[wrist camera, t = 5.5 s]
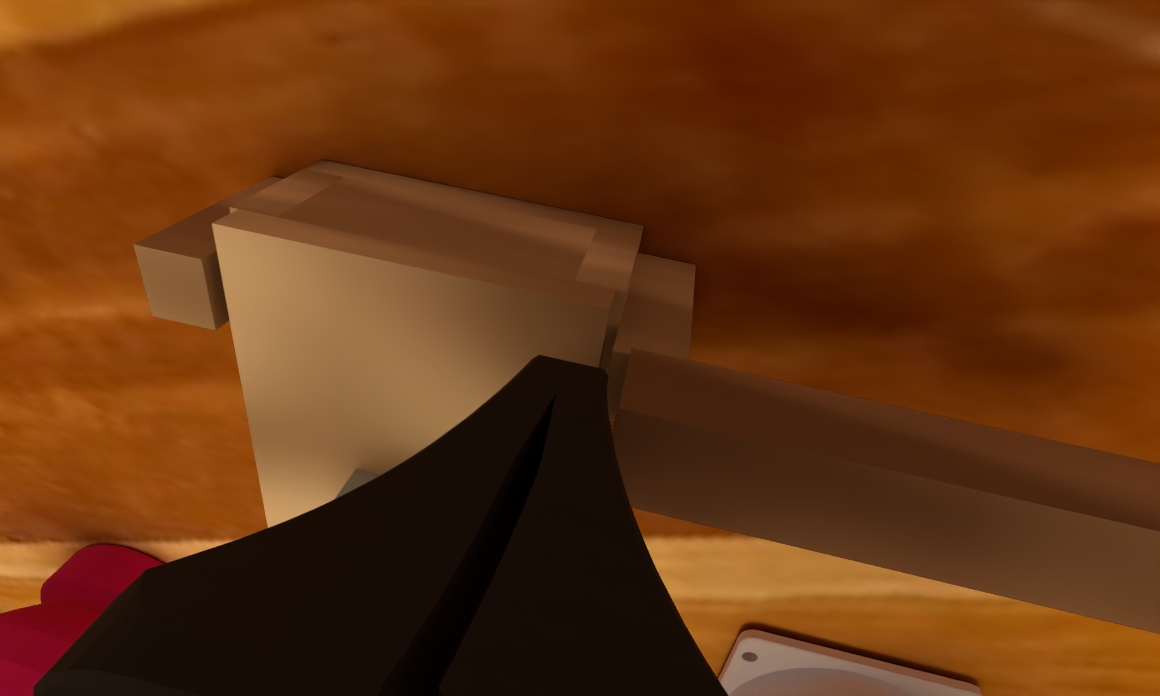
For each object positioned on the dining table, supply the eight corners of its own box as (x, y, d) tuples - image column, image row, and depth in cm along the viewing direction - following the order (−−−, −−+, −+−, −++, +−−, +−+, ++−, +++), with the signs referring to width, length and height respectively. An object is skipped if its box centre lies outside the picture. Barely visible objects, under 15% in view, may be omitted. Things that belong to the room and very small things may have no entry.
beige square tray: (614, 568, 21) (592, 700, 17) (311, 493, 22) (227, 603, 18) (702, 237, 15) (698, 334, 11) (267, 148, 16) (125, 209, 12)
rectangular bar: (1148, 556, 12) (1213, 647, 10) (612, 432, 12) (598, 499, 11) (1224, 478, 10) (1309, 565, 9) (631, 347, 11) (618, 408, 10)
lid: (544, 652, 18) (491, 867, 14) (298, 588, 19) (174, 776, 15) (616, 289, 12) (558, 481, 8) (239, 209, 13) (-16, 344, 8)
